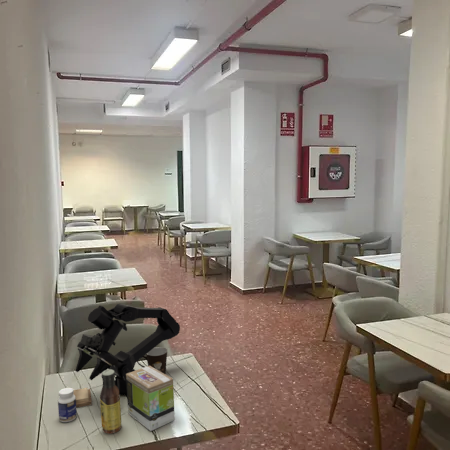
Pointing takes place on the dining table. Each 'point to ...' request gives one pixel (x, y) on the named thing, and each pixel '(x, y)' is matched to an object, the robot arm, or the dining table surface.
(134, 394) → the tea box
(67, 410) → the pill bottle
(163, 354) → the coffee mug
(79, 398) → the stand
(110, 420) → the sauce bottle
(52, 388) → the dining table surface
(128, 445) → the dining table surface
